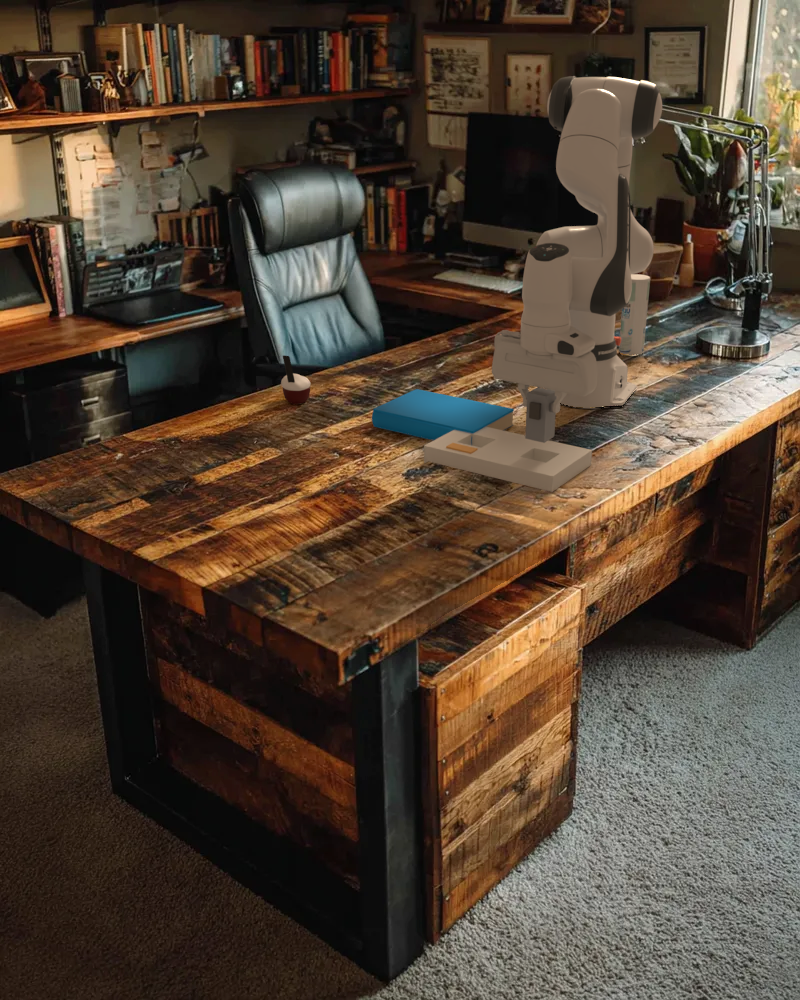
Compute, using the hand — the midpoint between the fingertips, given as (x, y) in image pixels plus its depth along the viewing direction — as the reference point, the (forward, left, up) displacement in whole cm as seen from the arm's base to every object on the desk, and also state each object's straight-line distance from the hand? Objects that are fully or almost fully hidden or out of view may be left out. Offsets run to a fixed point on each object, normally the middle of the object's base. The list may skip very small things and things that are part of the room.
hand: (541, 409), depth 202 cm
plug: (0, 0, -6) cm, 6 cm away
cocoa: (-8, -67, -13) cm, 69 cm away
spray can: (-87, -20, -13) cm, 90 cm away
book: (-11, -29, -13) cm, 33 cm away
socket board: (0, -7, -13) cm, 15 cm away
